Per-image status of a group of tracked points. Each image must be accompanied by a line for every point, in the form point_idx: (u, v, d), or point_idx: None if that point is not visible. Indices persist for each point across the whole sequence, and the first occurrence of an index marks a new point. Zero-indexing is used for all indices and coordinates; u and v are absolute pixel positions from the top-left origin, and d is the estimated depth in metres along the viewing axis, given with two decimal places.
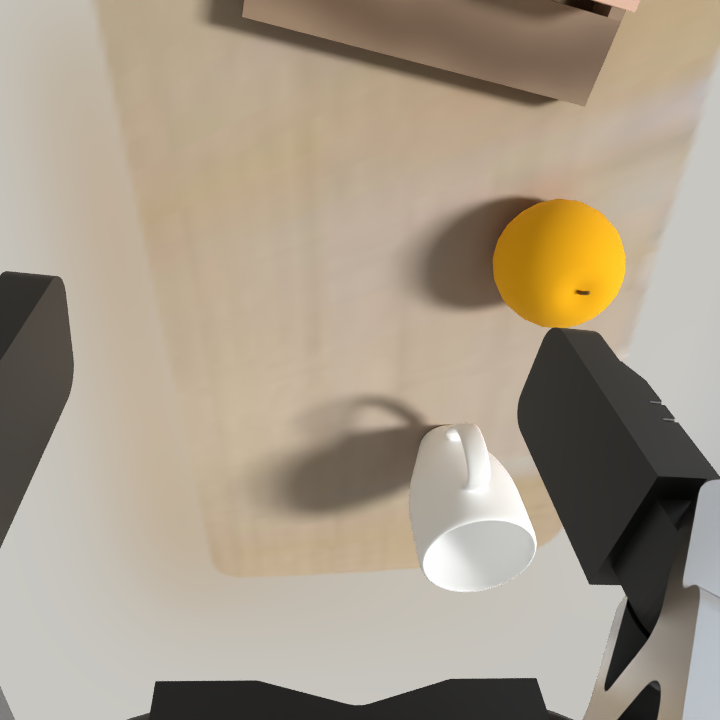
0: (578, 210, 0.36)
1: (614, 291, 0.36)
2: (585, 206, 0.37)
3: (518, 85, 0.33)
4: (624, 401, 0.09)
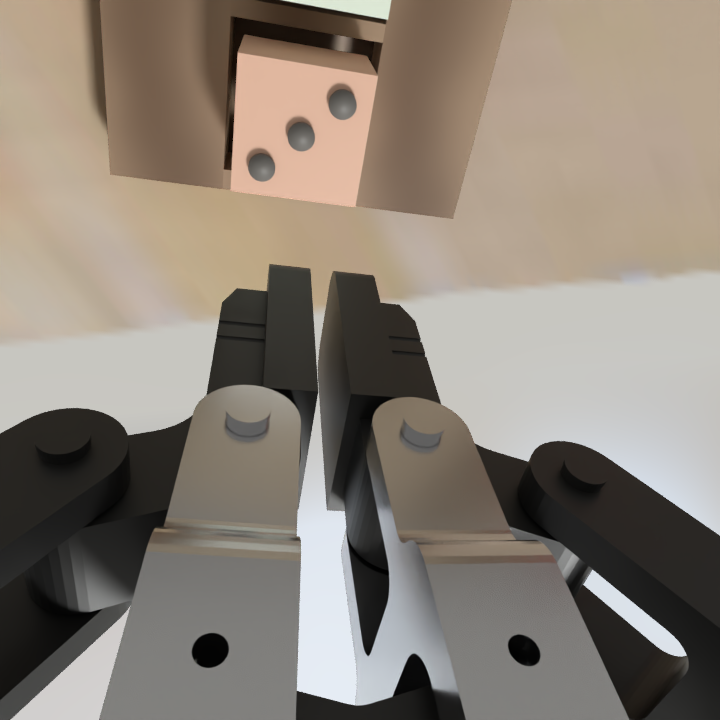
0: None
1: None
2: None
3: (108, 60, 0.22)
4: (359, 332, 0.09)
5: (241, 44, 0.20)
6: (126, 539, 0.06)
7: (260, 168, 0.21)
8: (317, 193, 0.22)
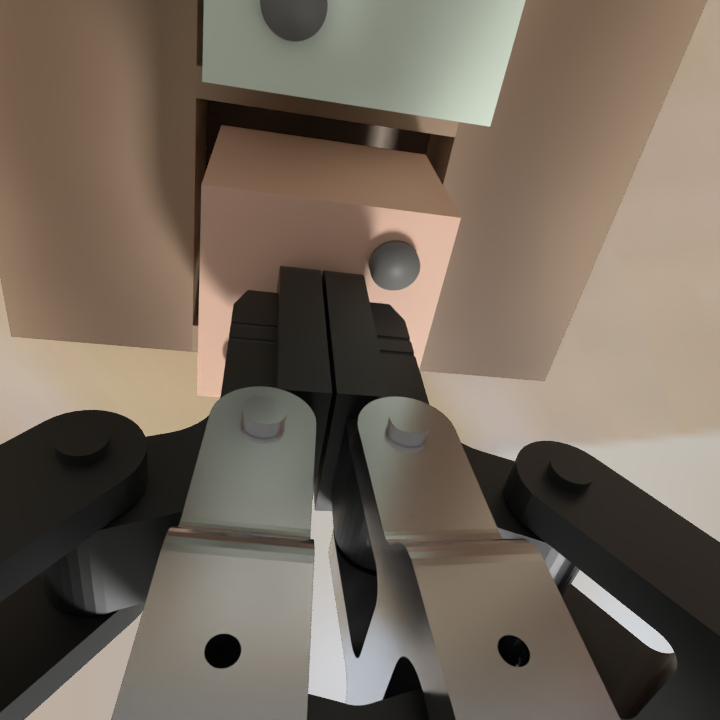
0: None
1: None
2: None
3: None
4: (347, 331, 0.09)
5: (212, 155, 0.11)
6: (142, 542, 0.06)
7: None
8: None
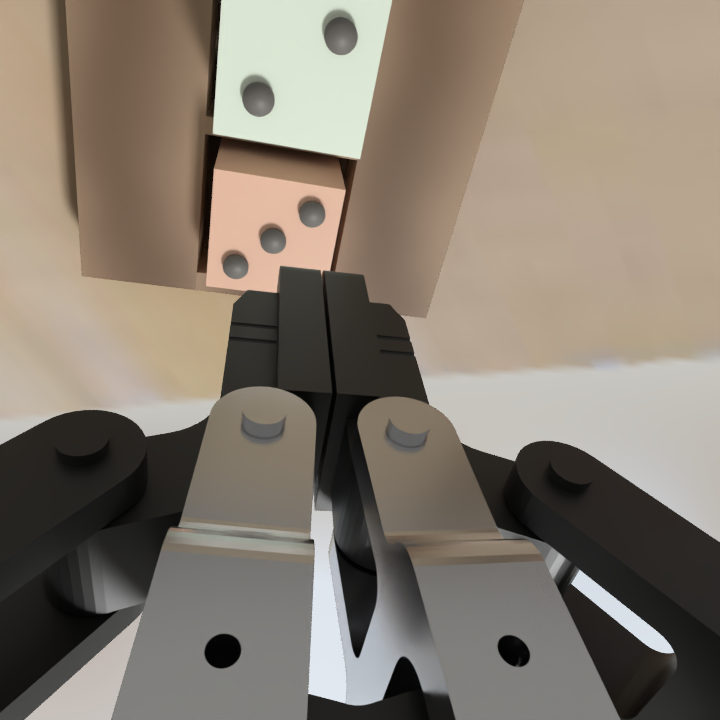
0: None
1: None
2: None
3: (80, 172, 0.22)
4: (347, 332, 0.09)
5: (218, 154, 0.21)
6: (142, 542, 0.06)
7: (234, 268, 0.22)
8: None
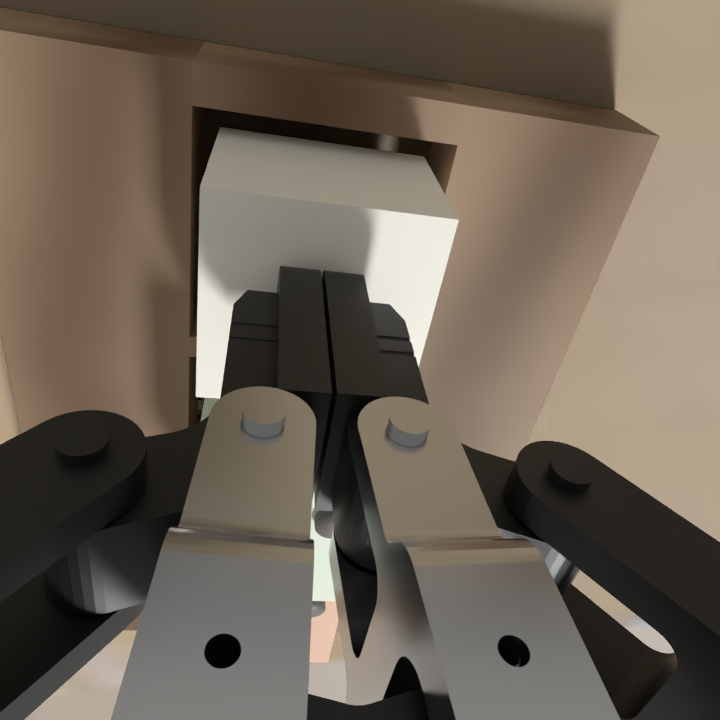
0: None
1: None
2: None
3: None
4: (348, 331, 0.09)
5: None
6: (142, 542, 0.06)
7: None
8: None
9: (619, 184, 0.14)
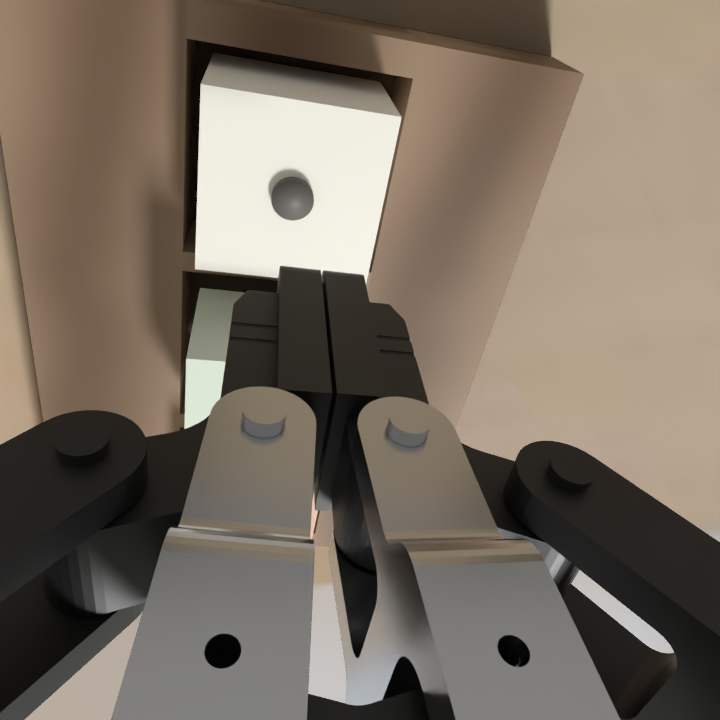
0: None
1: None
2: None
3: None
4: (347, 331, 0.09)
5: None
6: (142, 542, 0.06)
7: None
8: None
9: (551, 116, 0.16)
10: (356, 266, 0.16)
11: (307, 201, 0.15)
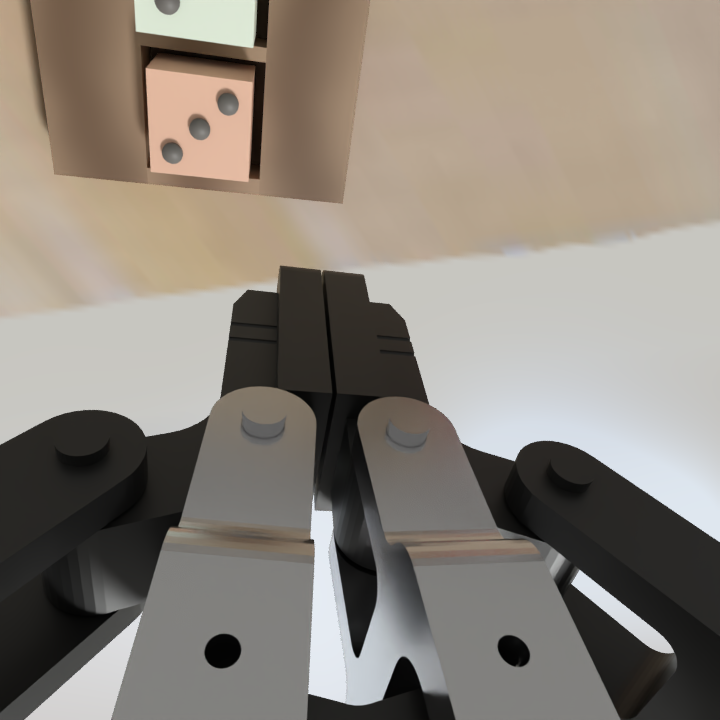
0: None
1: None
2: None
3: (45, 82, 0.27)
4: (347, 332, 0.09)
5: (152, 61, 0.27)
6: (142, 542, 0.06)
7: (171, 153, 0.28)
8: (217, 172, 0.28)
9: None
10: None
11: None
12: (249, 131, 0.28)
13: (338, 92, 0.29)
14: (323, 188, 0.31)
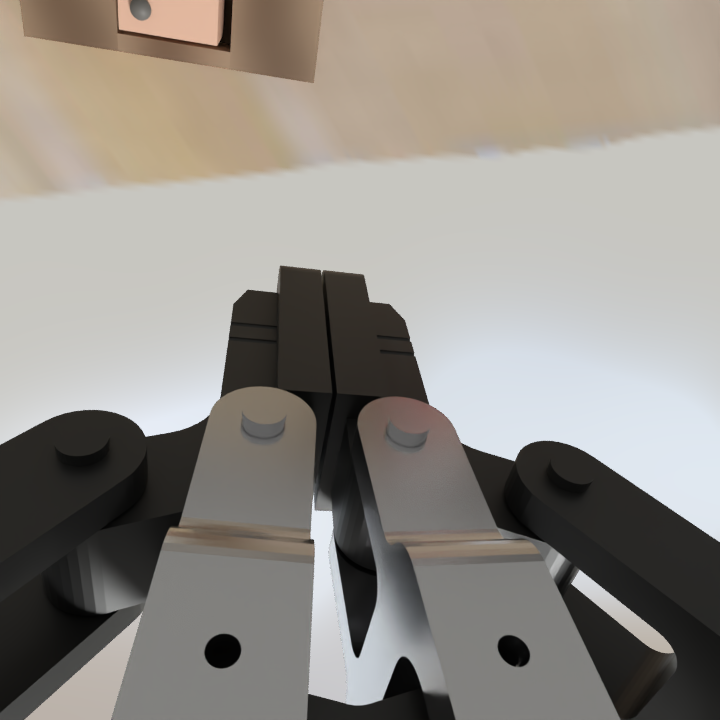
0: None
1: None
2: None
3: None
4: (347, 331, 0.09)
5: None
6: (142, 542, 0.06)
7: (139, 9, 0.28)
8: (186, 33, 0.29)
9: None
10: None
11: None
12: None
13: None
14: (294, 65, 0.31)
